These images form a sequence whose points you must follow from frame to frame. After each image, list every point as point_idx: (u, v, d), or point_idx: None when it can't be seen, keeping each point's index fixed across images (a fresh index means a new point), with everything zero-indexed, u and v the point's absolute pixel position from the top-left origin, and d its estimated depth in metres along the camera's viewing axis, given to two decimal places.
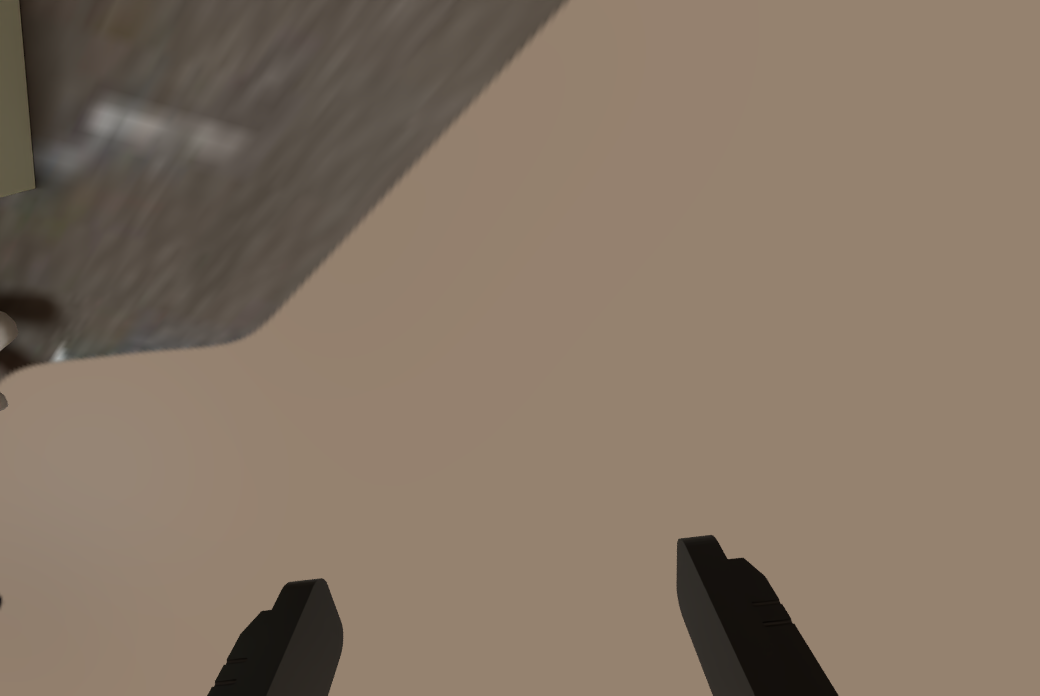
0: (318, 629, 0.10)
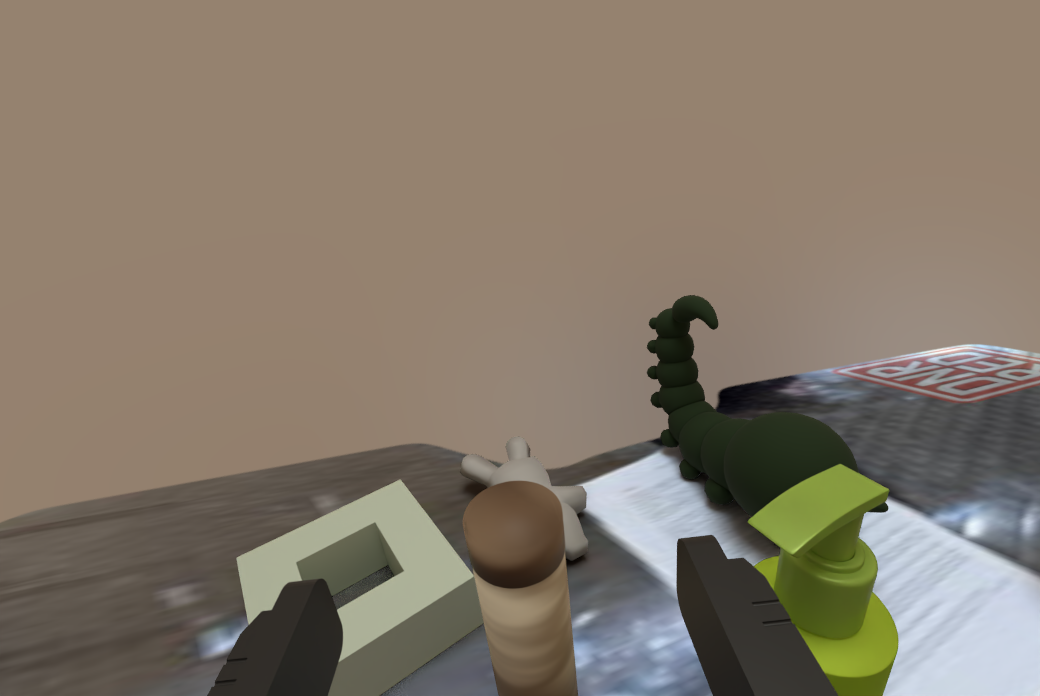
0: (317, 629, 0.10)
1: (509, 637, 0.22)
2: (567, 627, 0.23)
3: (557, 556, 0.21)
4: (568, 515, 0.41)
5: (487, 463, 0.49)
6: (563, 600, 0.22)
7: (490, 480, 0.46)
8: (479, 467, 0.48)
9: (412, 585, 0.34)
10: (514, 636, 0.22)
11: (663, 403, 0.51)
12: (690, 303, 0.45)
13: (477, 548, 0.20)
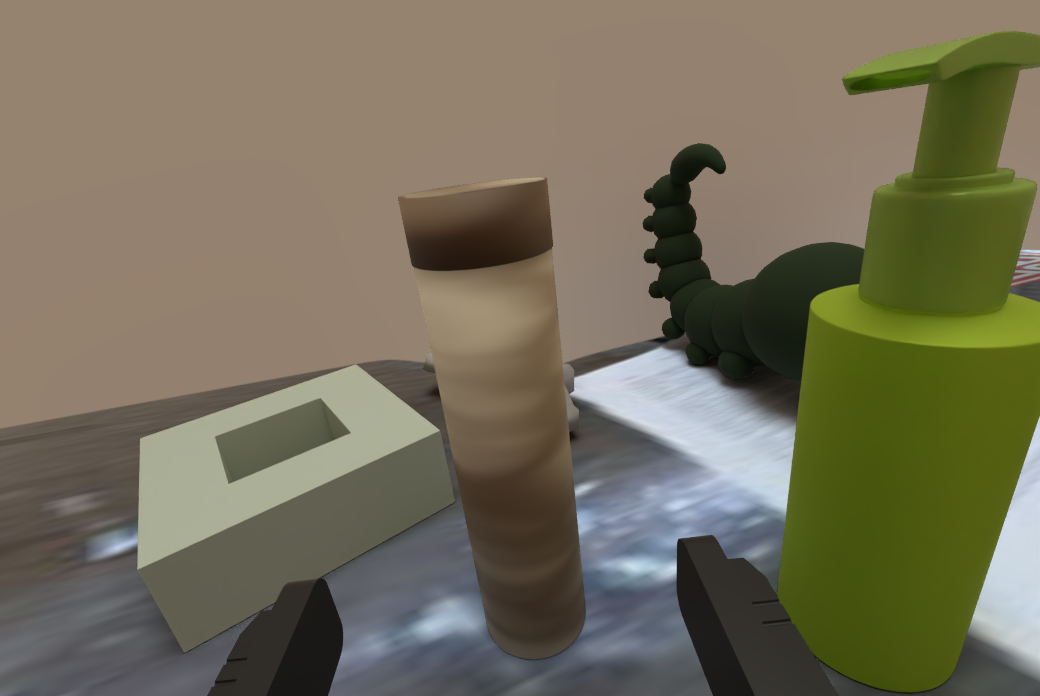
0: (317, 629, 0.10)
1: (473, 376, 0.15)
2: (560, 385, 0.16)
3: (541, 232, 0.14)
4: None
5: None
6: (552, 330, 0.15)
7: None
8: None
9: (360, 444, 0.27)
10: (479, 373, 0.15)
11: (664, 286, 0.44)
12: (691, 150, 0.39)
13: (415, 202, 0.13)
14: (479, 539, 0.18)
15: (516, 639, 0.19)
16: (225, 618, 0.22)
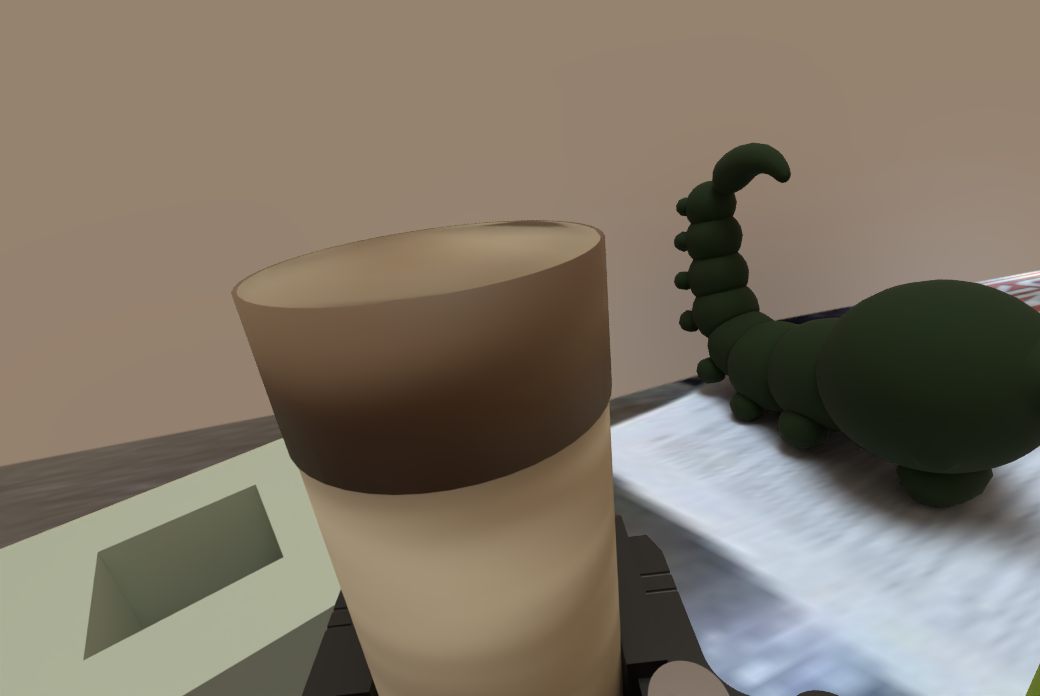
0: None
1: (427, 694, 0.06)
2: (616, 651, 0.08)
3: (593, 376, 0.05)
4: None
5: None
6: (607, 562, 0.07)
7: None
8: None
9: (293, 582, 0.18)
10: (442, 691, 0.06)
11: (701, 319, 0.36)
12: (743, 151, 0.30)
13: (251, 316, 0.05)
14: None
15: None
16: None
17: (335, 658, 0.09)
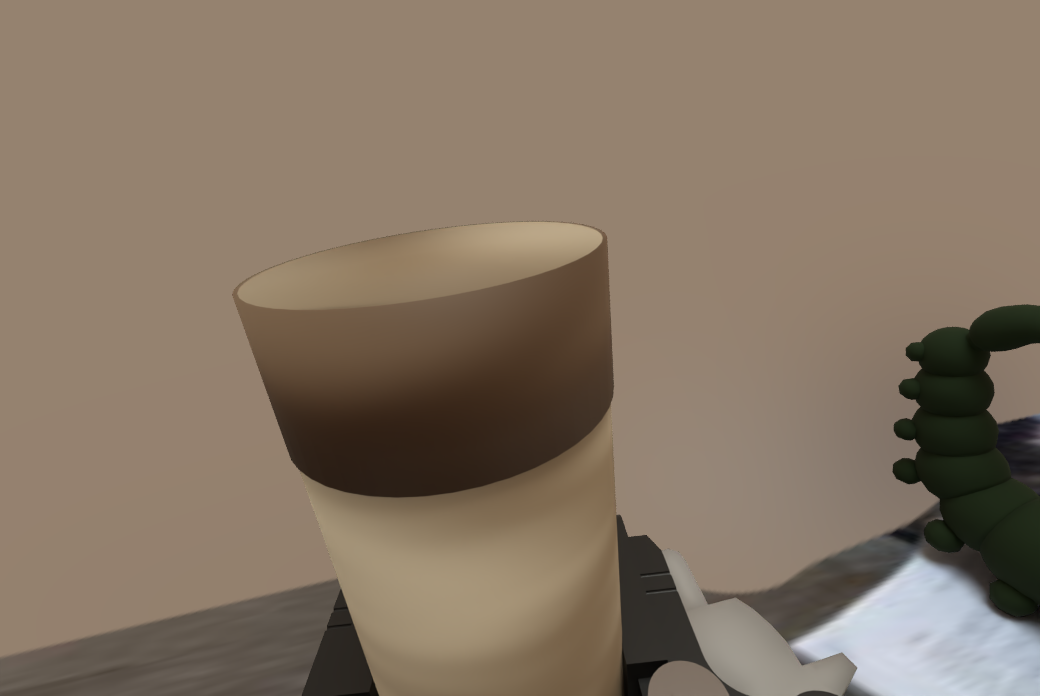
0: None
1: None
2: (617, 653, 0.08)
3: (595, 377, 0.05)
4: None
5: None
6: (609, 564, 0.07)
7: None
8: None
9: None
10: (443, 694, 0.06)
11: (938, 481, 0.31)
12: (1036, 318, 0.26)
13: (252, 317, 0.05)
14: None
15: None
16: None
17: (335, 657, 0.09)
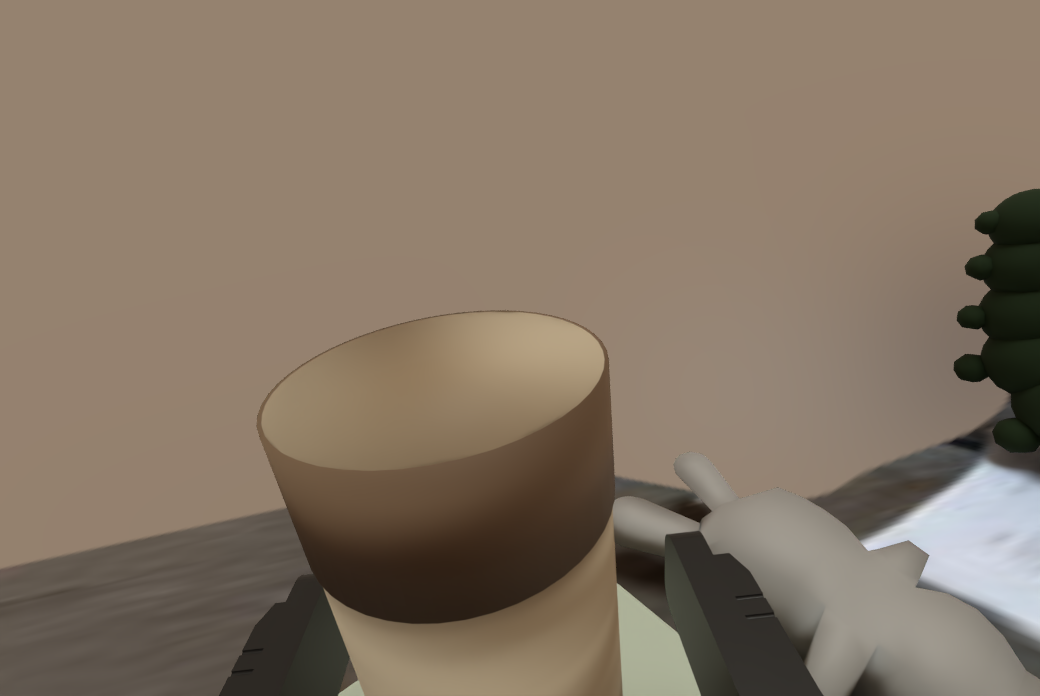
0: (330, 621, 0.10)
1: None
2: None
3: (598, 498, 0.06)
4: (973, 623, 0.17)
5: (664, 512, 0.24)
6: (610, 649, 0.07)
7: None
8: (657, 524, 0.23)
9: None
10: None
11: (1013, 370, 0.27)
12: None
13: (278, 463, 0.05)
14: None
15: None
16: None
17: None
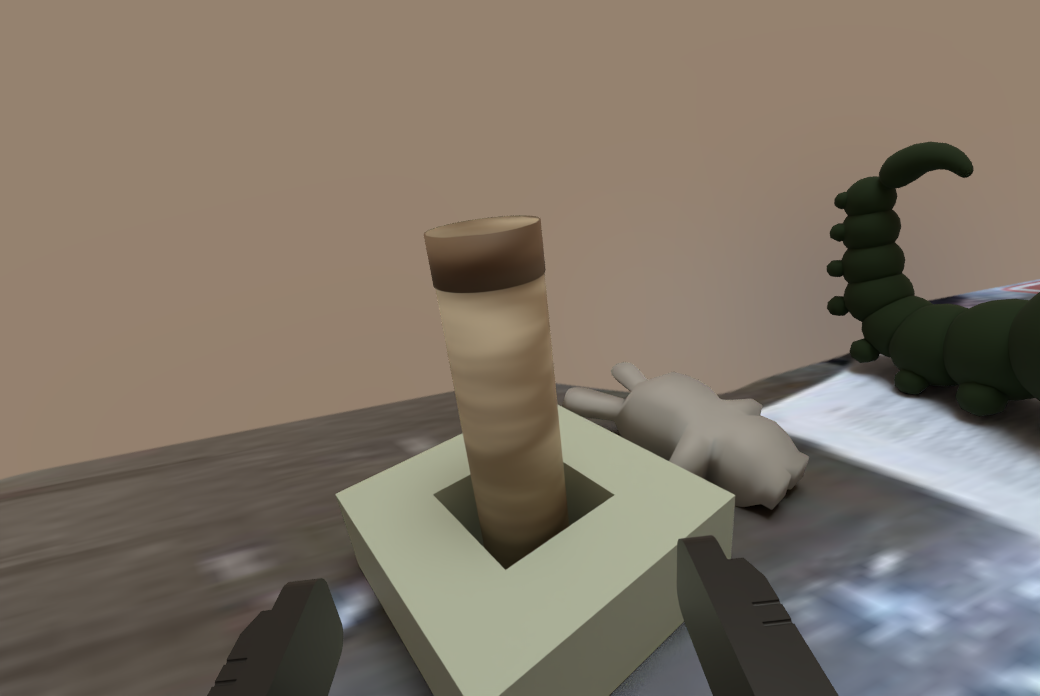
0: (317, 629, 0.10)
1: (482, 374, 0.19)
2: (551, 381, 0.20)
3: (535, 263, 0.18)
4: (770, 427, 0.29)
5: (601, 394, 0.35)
6: (544, 338, 0.19)
7: (626, 408, 0.32)
8: (595, 399, 0.34)
9: (640, 513, 0.22)
10: (487, 372, 0.18)
11: (858, 303, 0.39)
12: (922, 150, 0.34)
13: (439, 240, 0.17)
14: (485, 507, 0.22)
15: None
16: None
17: None
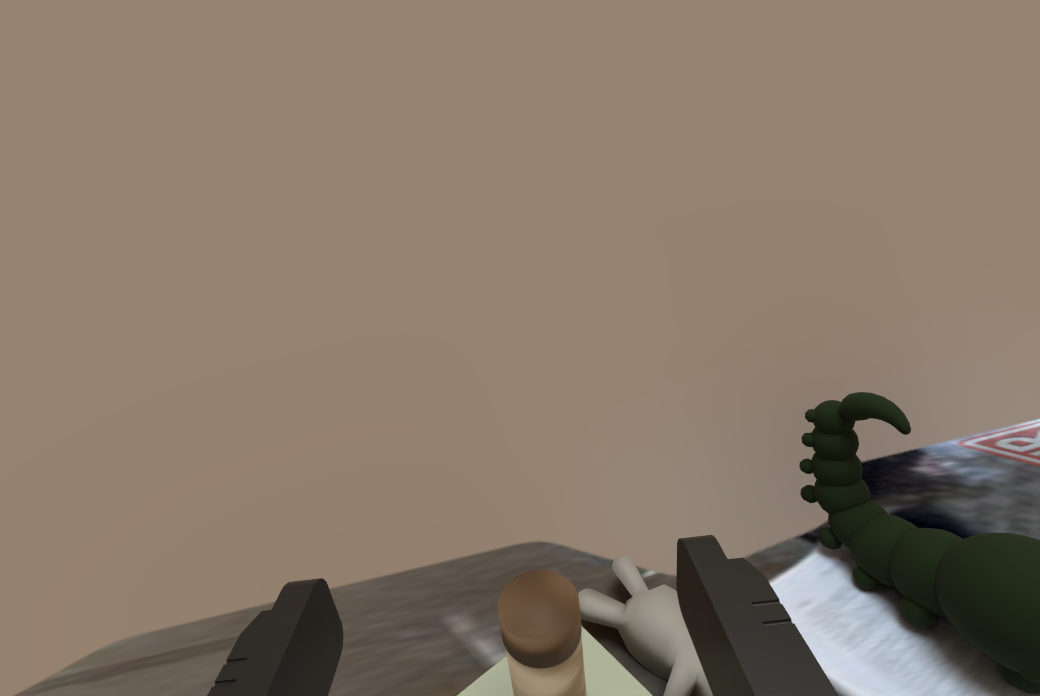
0: (318, 629, 0.10)
1: None
2: (583, 694, 0.28)
3: (576, 639, 0.26)
4: None
5: (606, 598, 0.43)
6: (580, 672, 0.27)
7: (628, 625, 0.40)
8: (602, 607, 0.42)
9: None
10: None
11: (825, 502, 0.47)
12: (872, 404, 0.42)
13: (512, 636, 0.25)
14: None
15: None
16: None
17: None
